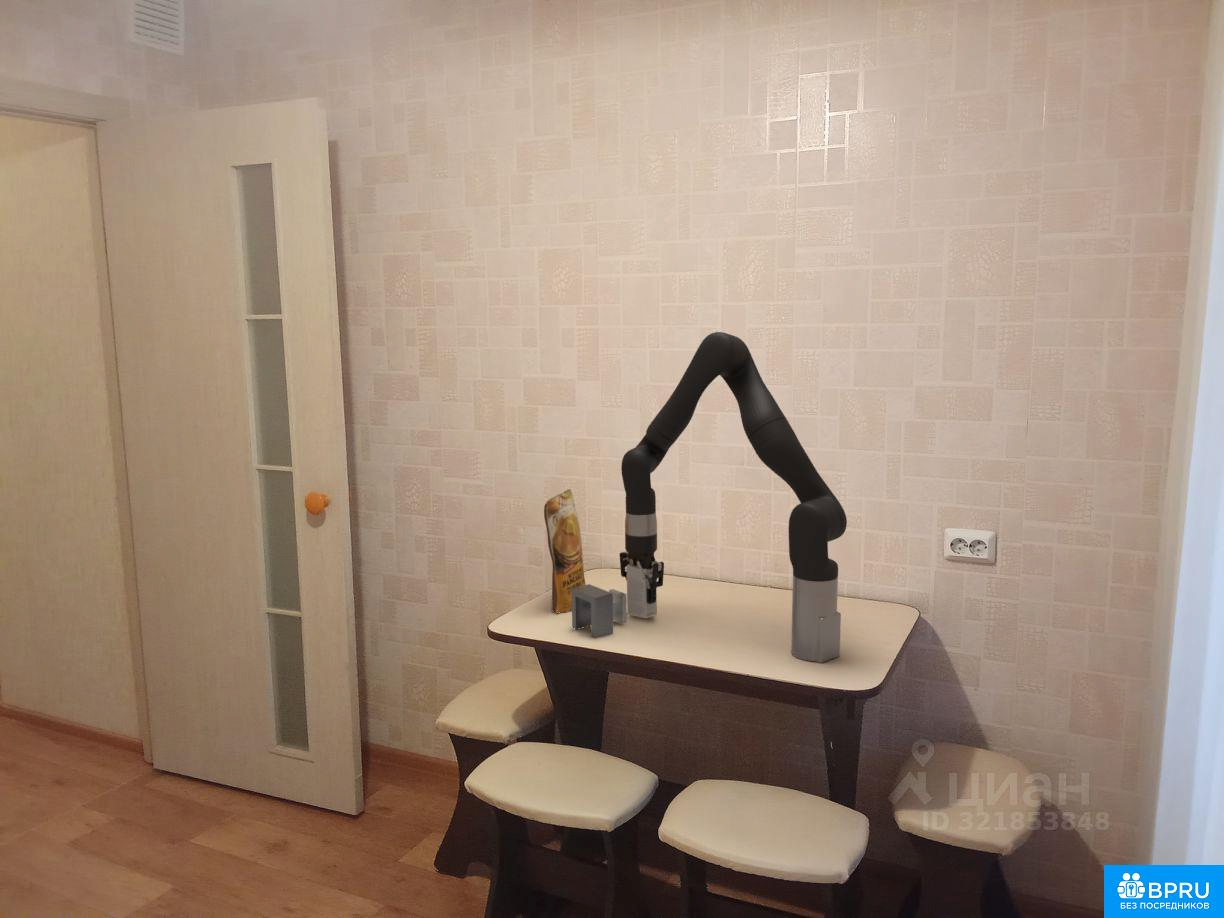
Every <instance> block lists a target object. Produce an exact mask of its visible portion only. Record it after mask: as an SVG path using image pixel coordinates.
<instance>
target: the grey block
mask: <svg viewBox="0 0 1224 918" xmlns="http://www.w3.org/2000/svg"><path fill="white" fill-rule="evenodd" d="M608 592H610V593H613V622H617V623H619V624H621V625H625V624H627V623H628V618H627V617H628V615H627V614H628V613H627V593H625V592H622V591H619V590H617V589H614V588H612V589H609V590H608Z"/></svg>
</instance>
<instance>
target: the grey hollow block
mask: <svg viewBox="0 0 1224 918" xmlns="http://www.w3.org/2000/svg"><path fill="white" fill-rule="evenodd" d="M571 623H572V624H571V625H572V626H571V627H573V628H572V629H574V628H575V629H574V630H576V629H577V630H579V629H578V628H581V629H583V628H582V627H584V628H588V627H590V625H591V629H590V630H591V638H593V639H595V640H596V639H600V638H603V637H607V636H610V635H614V620H613V593H610V592H609V590H605V589H603V588H600V587H598V586H595V585H592V584H589V583H588V584H586V585H584V586H579V587H575V588H572V610H571ZM587 626H588V627H587Z"/></svg>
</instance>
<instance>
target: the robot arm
mask: <svg viewBox="0 0 1224 918" xmlns="http://www.w3.org/2000/svg"><path fill="white" fill-rule="evenodd" d="M718 376H720V377H721V378H722V379H723V380H724V382H725V383H726V385H727V386H728V388H729V390H730V391H731V394H733V396H734V398H735V400H736V402H737V404H738V409H739V414H740V419H741V423H742V427H743V430H744V433H745V435H746V437H747V439H748V441H749V443H750V445H751V446H752V449H753V450H754V451H755V454H756V456H757V457H758V458H759V460H760V461H761V462H762V464H764V465H765V466H766V467H767V468H768V469H770V470H771V471H772V472H773V473H774V474H776V475H777V476H778V477H779V478H781V479H782V480H783V481H784V482H785V483H786V484H787V485H788V486H789V487H790V489H792V491H793V493H794V494H795V495H796V497H797V499H798V501H799V502H800V503H799V504H797V505H795V506H794V508H793V509H792V510H791V512H790V514H789V515H790V516H789V519H788V556H789V560H790V564H791V567H792V590H791V591H792V596H791V597H792V598H791V599H792V601H791V648H790V649H791V655H793V656H795V657H796V658H798V659H800V660H804V661H811V662H818V663H821V664H822V663H824V662H827V661H830V660H832V659H836V658H837V657H840V655H841V652H840V651H841V625H842V623H841V621H842V619H841V618H842V617H841V616H842V614H841V613H840V612H839V611H838V590H839V589H838V585H839V565H838V563H837V562H836V561H835V560H834V559H832V558H829V542H832V541H834V540H837V539H839V538H841V537H842V536H843V535H844V534H845V532H846V530H847V524H848V522H847V521H848V520H847V519H848V518H847V515H846V511H845V510H844V508H843V506H842V504H841V503H840V501H839V500H838V498H837V497H836V496H835V494H834V493H833V491H832V490H831V489H830V487H829V486H828V485H827V483H826V482H825V480H824V479H823V478H822V476H821V475H820V473H819V472H818V470H817V469H816V467H815V465H814V463H813V462H812V459H810V456H808V454H807V452H806V451H805V449H804V447H803V446H802V444H801V442H800V440H799V439H798V436H797V435H796V432H795V431H794V430H793V427H792V426H791V424H790V422H789V420H788V418H787V417H786V415H785V414H784V412H783V411H782V409H781V408H780V406H779V405H778V404H779V403H777V401H776V399H775V398H774V396H773V395H772V393H771V392H770V390H769V388H768V387H767V386H766V383H765V382H764V381H763V378H762V377H761V375H760V372H759V370H758V367H757V365H756V363H755V360H754V358H753V356H752V354H751V352H750V349H749V347H748V345H747V344H746V343H745V342H744V341H743V340H742V338H740V337H738V336H737V335H736V336H735V335H732V334H730V333H726V332H721V331H715V332H711V333H710V334H708V335H707V336H705V338H704V339H703V340H702V341H701V343H700V344H699V346H698V347H697V349H696V350H695V353H694V354H693V357H692V359H691V361H690V363H689V365H688V366H687V368H686V370H685V372H684V373H683V375H682V377H681V379H680V381H679V382H678V384H677V386H676V387H675V389H674V391H673V392H672V394H671V395H670V396H669V398H668V400H667V401H666V402H665V404H664V405H663V406H662V407H661V409H660V410H659V412H658V413H657V414H656V415H655V417H654V418H653V419H652V421H651V422H650V423H649V424H648V427H647V428H646V431H645V434H644V435H643V437H642V439H641V440H640V441H639V442H638V444H637V445H636V446H635V447H633V448H631V449H629V450H628V451H627V452H625V454H624V455H623V457H622V459H621V465H620V466H621V467H620V468H621V469H620V470H621V476H622V483H623V489H624V491H625V517H624V545H625V546H624V547H625V548H624V549H625V551H622V552H619V564H620V576H621V578H625V580H626V582H627V570H626V568H627V565H631V566H634V565H635V566H638V568H639V569H641V570H642V571H641V573H642V579H646V586H647V603H649V604H652V603H655V602H656V595H657V588H658V587H662V586H664V573H665V563H664V561H657V560H656V558H655V552H656V551H657V550H658V518H657V512H656V511H657V510H656V509H657V507H656V503H657V502H656V501H657V500H656V497H657V496H656V491H655V489H654V488H652V481H651V474H652V473H653V472H654V471H655V470H657V468H658V467H659V465H660V464H661V462H662V461H663V459H664V458H665V456H666V455H667V453H668V452H669V450H670V448H671V447H672V446H673V445H674V444H675V443H676V441H677V440H678V439H679V437H680V436H681V435H682V434H683V432H684V431H685V429H686V428H687V427H688V425H689V423H690V422H691V420H692V418H693V416H694V414H695V411H696V409H697V405H698V404H699V401H700V399H701V397H702V396H703V393H704V392H705V391H706V389H707V388H708V387H709V386H710V385H711V383H712V382H713V381H714V380H715V379H716V378H717V377H718ZM643 569H647V570H648V569H650V570H652V574H650V575H647V574H645V573H644V570H643ZM649 578H652V583H650V580H649Z"/></svg>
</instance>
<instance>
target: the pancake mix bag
mask: <svg viewBox="0 0 1224 918" xmlns="http://www.w3.org/2000/svg"><path fill="white" fill-rule="evenodd" d="M574 501H575V500H574V497H573V492H572V489H567V490H564V491H562V492H561V493H559V494H557V495H555V496H554V497H551V498H550V499H548V500H547V501H546V502H545V504H544V506H543V507H544V508H543V509H544V510H543V514H544V515H543V517H544V522H545V527H546V534H547V535H546V536H547V547H548V551H549V554H550V557H551V558H550V559H551V563H552V574H551V575H552V576H551V580H552V581H551V588H552V589H551V591H552V594H551V595H552V596H551V597H552V598H551V611H552V610H553V611H554V612H553V611H552V612H553V614H555V613H556V614H555V615H558V614H560V613H559V612H563V613H568V612H570V611H572V610H571V609H572V588H575V587H579V586H584V585H587V584H586V578H585V571H584V570H585V569H584V559H583V558H584V557H583V546H582V545H583V544H582V543H583V542H582V537H581V529H580V521H579V517H578V512H577V510H576V509H577V508H576V506H575V502H574ZM569 610H570V611H569ZM567 611H568V612H567ZM557 613H558V614H557Z"/></svg>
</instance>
